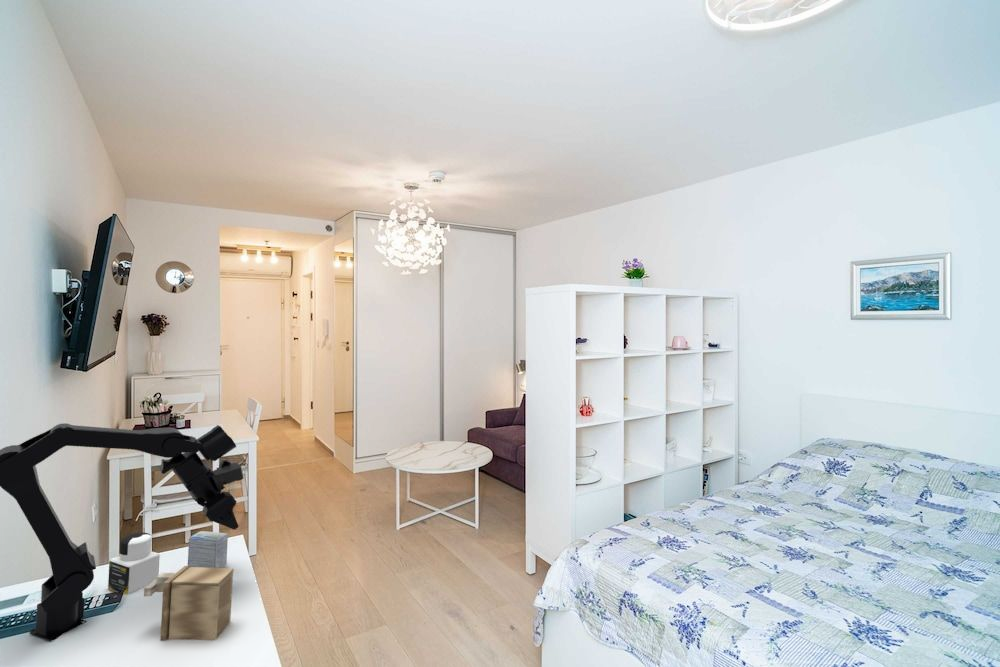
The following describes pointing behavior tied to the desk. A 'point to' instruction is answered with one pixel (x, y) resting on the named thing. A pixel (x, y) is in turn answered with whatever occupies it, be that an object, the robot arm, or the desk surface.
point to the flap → (164, 597)
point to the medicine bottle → (133, 564)
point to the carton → (200, 603)
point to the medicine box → (208, 550)
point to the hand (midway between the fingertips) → (231, 521)
